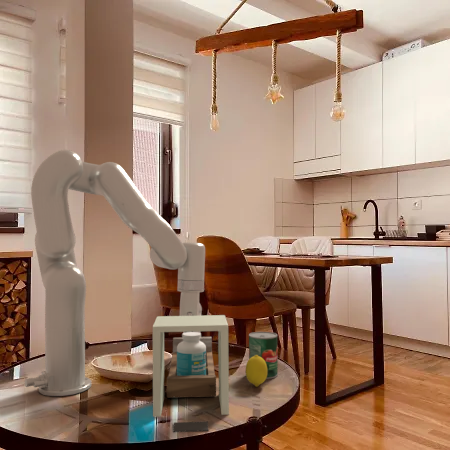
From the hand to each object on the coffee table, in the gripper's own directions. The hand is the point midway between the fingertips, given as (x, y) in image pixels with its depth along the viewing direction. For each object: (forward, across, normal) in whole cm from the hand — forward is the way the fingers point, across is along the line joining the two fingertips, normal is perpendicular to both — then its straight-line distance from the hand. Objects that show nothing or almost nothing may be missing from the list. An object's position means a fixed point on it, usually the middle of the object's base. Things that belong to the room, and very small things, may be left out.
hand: (188, 350), depth 133 cm
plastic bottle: (+6, -17, +1) cm, 18 cm away
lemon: (+5, +15, +18) cm, 24 cm away
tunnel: (+6, +26, +1) cm, 27 cm away
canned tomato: (+5, +6, +21) cm, 22 cm away
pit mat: (+6, +38, +1) cm, 39 cm away
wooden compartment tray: (+5, +7, +1) cm, 8 cm away
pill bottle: (+6, +14, +1) cm, 15 cm away
